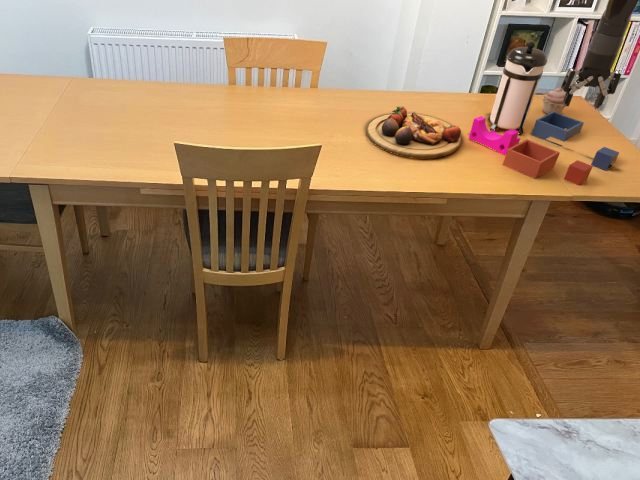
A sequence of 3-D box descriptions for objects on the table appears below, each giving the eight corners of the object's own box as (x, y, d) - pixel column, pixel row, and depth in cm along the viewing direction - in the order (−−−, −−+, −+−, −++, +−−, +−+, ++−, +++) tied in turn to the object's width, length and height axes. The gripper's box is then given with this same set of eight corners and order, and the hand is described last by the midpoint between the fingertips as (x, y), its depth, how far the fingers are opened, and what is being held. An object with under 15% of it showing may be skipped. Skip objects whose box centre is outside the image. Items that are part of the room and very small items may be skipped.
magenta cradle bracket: (516, 150, 198) (523, 130, 194) (505, 155, 196) (512, 134, 191) (479, 134, 207) (485, 114, 203) (468, 139, 204) (474, 118, 200)
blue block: (613, 166, 192) (619, 152, 188) (605, 170, 189) (612, 156, 186) (598, 160, 194) (604, 146, 191) (590, 164, 192) (597, 151, 189)
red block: (586, 180, 184) (592, 166, 181) (578, 185, 182) (585, 171, 178) (571, 174, 187) (577, 160, 184) (563, 179, 184) (569, 164, 181)
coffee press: (537, 131, 210) (568, 45, 191) (505, 139, 205) (533, 52, 185) (502, 112, 222) (527, 30, 203) (470, 120, 216) (493, 35, 197)
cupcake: (539, 115, 221) (548, 89, 214) (537, 106, 227) (546, 80, 221) (565, 119, 219) (575, 93, 212) (563, 109, 226) (572, 83, 219)
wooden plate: (475, 136, 206) (481, 114, 200) (434, 170, 187) (440, 146, 181) (394, 111, 221) (398, 89, 216) (349, 139, 202) (352, 117, 197)
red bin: (553, 167, 190) (559, 152, 186) (535, 179, 184) (541, 163, 180) (521, 154, 197) (526, 139, 193) (502, 164, 191) (507, 149, 187)
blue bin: (578, 137, 207) (584, 122, 204) (561, 146, 202) (567, 131, 198) (547, 125, 214) (553, 111, 210) (530, 134, 208) (536, 119, 205)
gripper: (581, 52, 158) (560, 110, 169) (635, 55, 158) (610, 112, 168) (572, 43, 164) (552, 99, 175) (624, 46, 163) (601, 102, 174)
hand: (581, 106), depth 171 cm, fingers open, 8 cm apart
